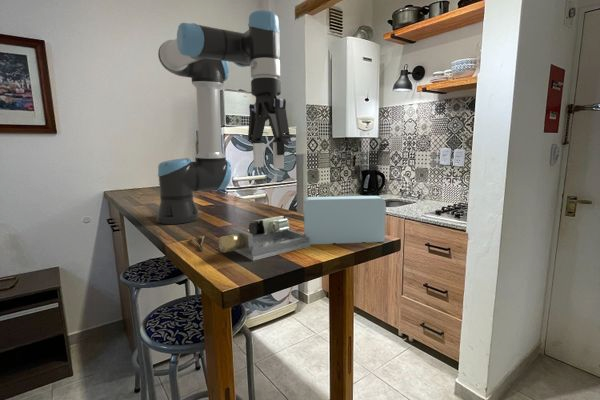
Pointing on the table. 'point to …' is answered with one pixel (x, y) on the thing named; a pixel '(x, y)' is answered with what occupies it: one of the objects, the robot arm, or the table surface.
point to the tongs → (197, 243)
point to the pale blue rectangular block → (344, 219)
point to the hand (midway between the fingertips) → (268, 167)
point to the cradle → (263, 243)
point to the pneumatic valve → (269, 225)
